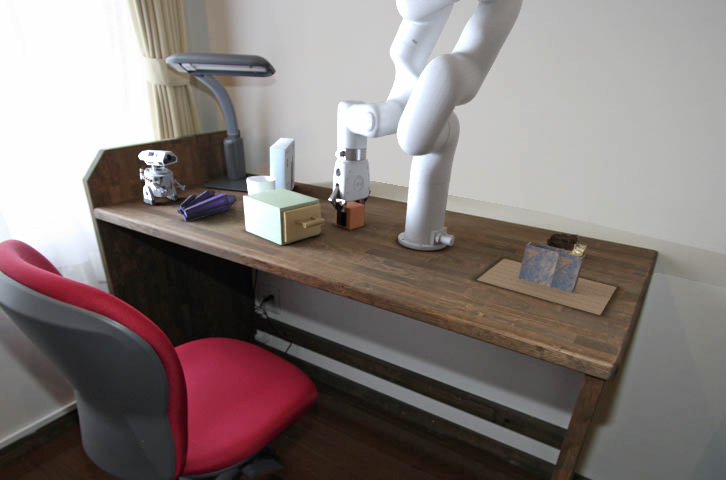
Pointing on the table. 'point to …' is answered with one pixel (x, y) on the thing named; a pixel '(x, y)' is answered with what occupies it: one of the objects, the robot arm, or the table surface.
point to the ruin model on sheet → (552, 278)
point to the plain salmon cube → (353, 215)
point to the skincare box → (283, 163)
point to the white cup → (260, 184)
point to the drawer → (301, 222)
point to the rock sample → (564, 241)
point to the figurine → (159, 175)
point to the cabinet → (272, 212)
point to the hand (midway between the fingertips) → (349, 222)
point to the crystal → (205, 204)
